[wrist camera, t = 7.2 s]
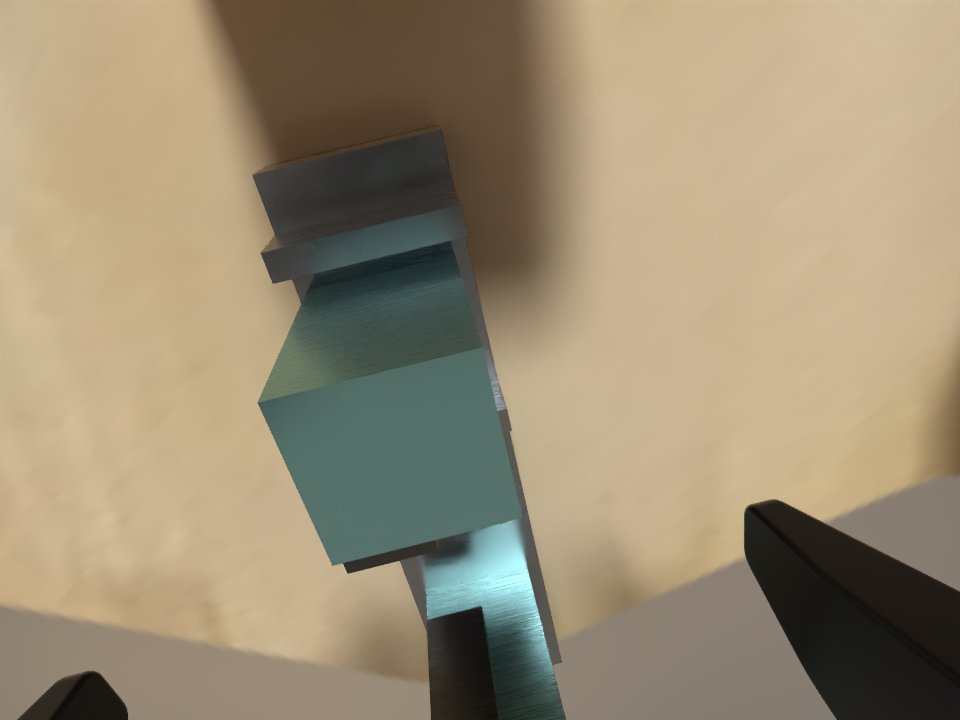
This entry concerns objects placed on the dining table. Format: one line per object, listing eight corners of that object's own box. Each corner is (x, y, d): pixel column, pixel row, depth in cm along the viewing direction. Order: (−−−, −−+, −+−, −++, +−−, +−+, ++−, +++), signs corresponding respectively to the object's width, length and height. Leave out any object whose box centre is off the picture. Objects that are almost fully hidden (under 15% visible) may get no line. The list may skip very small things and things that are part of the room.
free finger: (451, 243, 16) (482, 347, 10) (484, 381, 18) (527, 539, 12) (313, 277, 16) (257, 402, 10) (362, 412, 18) (341, 585, 12)
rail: (437, 125, 16) (469, 166, 9) (553, 632, 26) (615, 858, 19) (264, 167, 16) (143, 245, 9) (447, 659, 26) (466, 897, 19)
